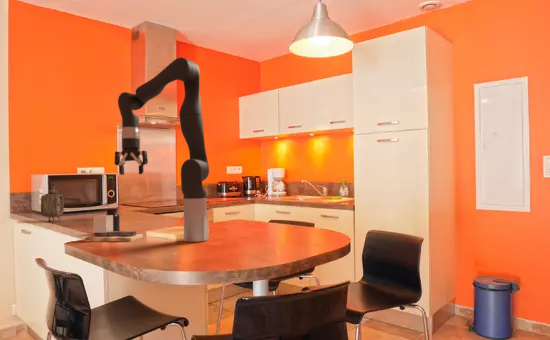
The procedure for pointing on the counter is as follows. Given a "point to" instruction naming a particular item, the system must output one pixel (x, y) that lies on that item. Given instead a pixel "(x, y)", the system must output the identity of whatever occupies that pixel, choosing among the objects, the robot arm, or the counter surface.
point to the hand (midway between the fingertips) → (131, 174)
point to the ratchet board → (115, 236)
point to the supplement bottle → (114, 218)
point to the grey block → (102, 223)
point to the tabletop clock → (52, 203)
